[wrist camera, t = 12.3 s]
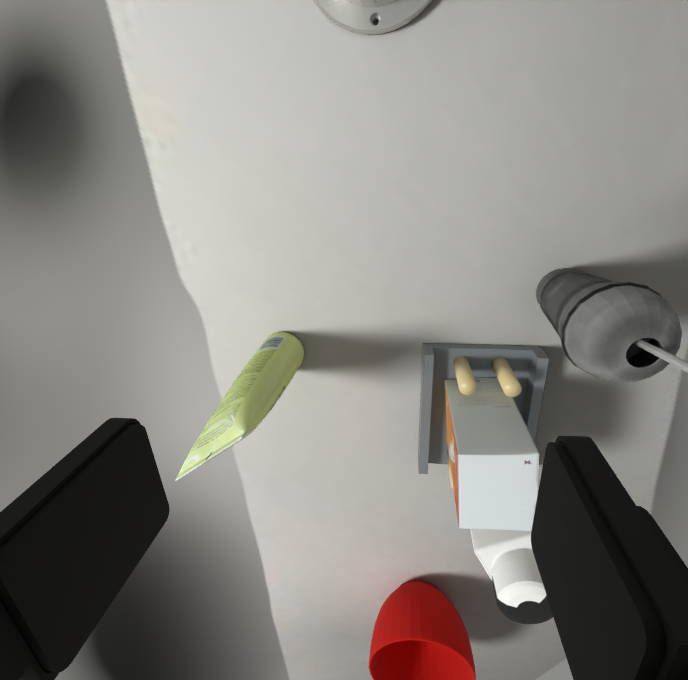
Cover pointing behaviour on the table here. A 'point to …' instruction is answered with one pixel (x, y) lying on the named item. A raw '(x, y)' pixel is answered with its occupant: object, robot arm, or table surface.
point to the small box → (490, 458)
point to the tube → (248, 398)
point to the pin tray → (480, 369)
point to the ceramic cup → (420, 637)
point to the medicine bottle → (513, 574)
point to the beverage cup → (611, 325)
